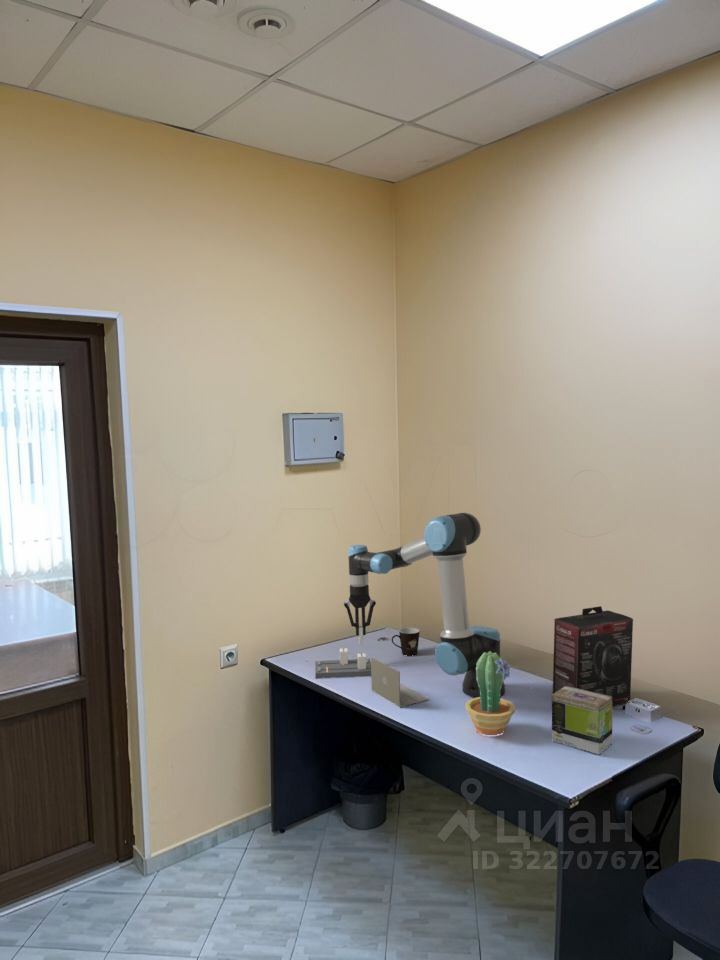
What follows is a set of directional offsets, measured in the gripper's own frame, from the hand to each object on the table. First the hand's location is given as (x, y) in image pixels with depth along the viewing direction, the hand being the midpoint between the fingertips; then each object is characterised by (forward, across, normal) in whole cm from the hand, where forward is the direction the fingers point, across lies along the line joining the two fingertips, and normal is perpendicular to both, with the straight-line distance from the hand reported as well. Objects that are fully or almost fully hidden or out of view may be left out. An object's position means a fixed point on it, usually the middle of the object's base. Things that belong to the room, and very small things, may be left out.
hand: (361, 643), depth 276 cm
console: (+10, +8, +3) cm, 13 cm away
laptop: (+11, -11, +30) cm, 34 cm away
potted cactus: (+12, -36, +62) cm, 72 cm away
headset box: (+12, -75, +45) cm, 88 cm away
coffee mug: (+10, -20, -14) cm, 26 cm away
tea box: (+12, -60, +73) cm, 96 cm away
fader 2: (+8, 0, +6) cm, 10 cm away
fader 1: (+7, +7, -1) cm, 10 cm away
